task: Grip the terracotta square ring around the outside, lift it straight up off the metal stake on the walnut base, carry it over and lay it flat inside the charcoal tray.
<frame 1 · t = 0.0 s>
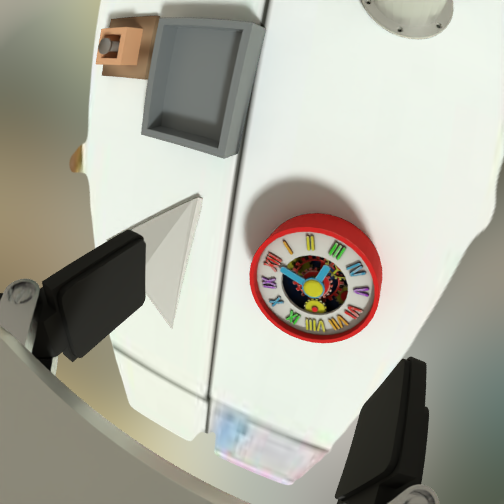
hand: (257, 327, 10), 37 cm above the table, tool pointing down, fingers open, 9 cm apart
ring: (126, 46, 45), point 1 cm above the table, touching stake base
paper plane: (147, 246, 65), on the table
stake base: (130, 46, 46), on the table
tray: (205, 81, 44), on the table
toy clock: (321, 271, 51), on the table
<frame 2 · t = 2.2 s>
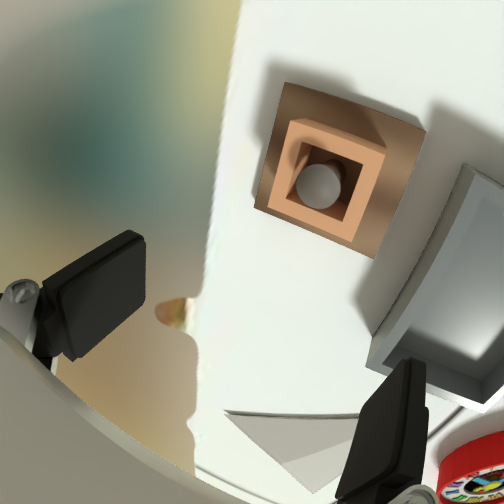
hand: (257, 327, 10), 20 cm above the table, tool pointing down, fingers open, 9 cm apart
ring: (333, 171, 25), point 1 cm above the table, touching stake base
paper plane: (297, 431, 45), on the table
stake base: (335, 168, 26), on the table
tray: (483, 296, 24), on the table
toy clock: (493, 459, 31), on the table
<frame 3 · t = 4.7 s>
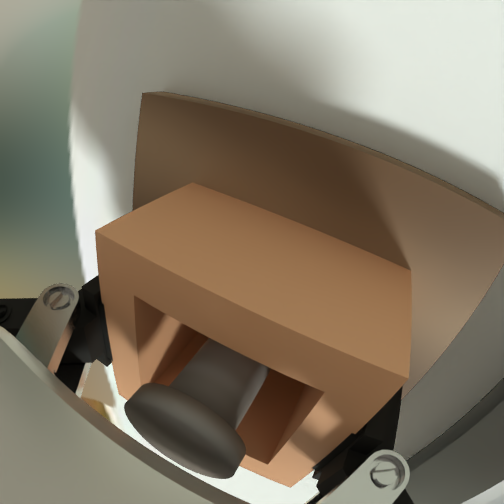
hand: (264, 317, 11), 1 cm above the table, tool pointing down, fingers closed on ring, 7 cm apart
ring: (267, 312, 11), point 1 cm above the table, touching gripper, stake base
stake base: (278, 296, 12), on the table
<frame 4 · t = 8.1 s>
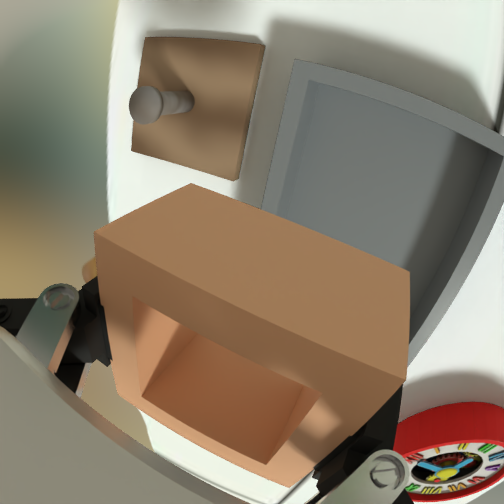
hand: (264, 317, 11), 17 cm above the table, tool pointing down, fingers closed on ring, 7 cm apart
ring: (266, 313, 11), point 17 cm above the table, touching gripper
stake base: (191, 101, 26), on the table
tray: (373, 214, 24), on the table
toy clock: (448, 441, 32), on the table
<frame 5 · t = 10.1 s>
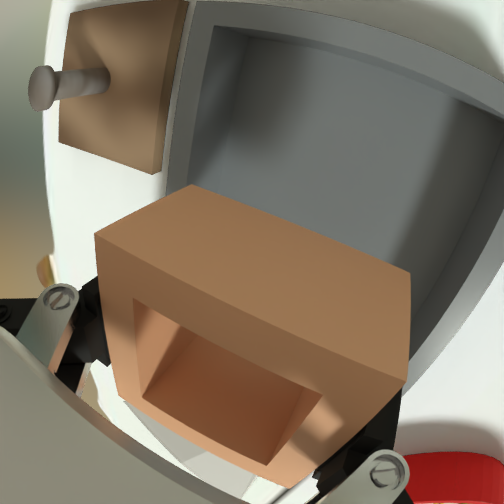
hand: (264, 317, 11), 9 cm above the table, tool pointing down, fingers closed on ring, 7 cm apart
ring: (267, 314, 11), point 9 cm above the table, touching gripper
paper plane: (191, 424, 38), on the table
stake base: (112, 79, 20), on the table
tray: (332, 220, 18), on the table
toy clock: (428, 485, 25), on the table
when the fingers open (3 cm above the table, at t = 11.8 s): ring drops 2 cm, resting on tray.
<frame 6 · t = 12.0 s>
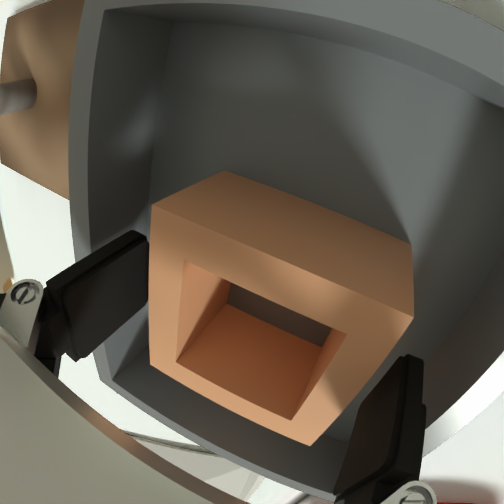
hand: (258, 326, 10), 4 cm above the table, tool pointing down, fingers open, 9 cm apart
ring: (288, 285, 12), point 1 cm above the table, touching tray
paper plane: (166, 457, 33), on the table
stake base: (42, 91, 15), on the table
tray: (294, 271, 13), on the table
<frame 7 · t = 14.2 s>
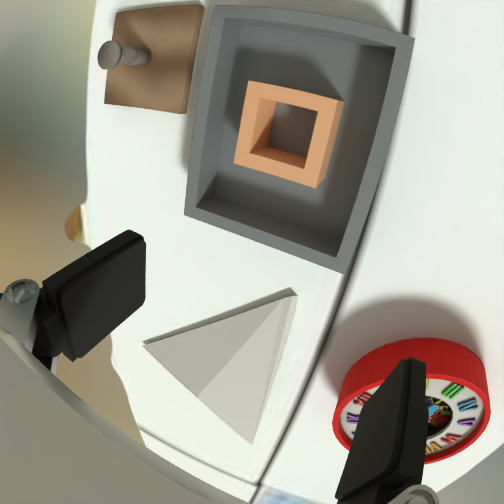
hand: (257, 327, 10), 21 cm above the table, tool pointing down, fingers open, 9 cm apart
ring: (296, 129, 26), point 1 cm above the table, touching tray
paper plane: (205, 353, 46), on the table
stake base: (150, 57, 29), on the table
tray: (298, 127, 27), on the table
toy clock: (414, 393, 34), on the table
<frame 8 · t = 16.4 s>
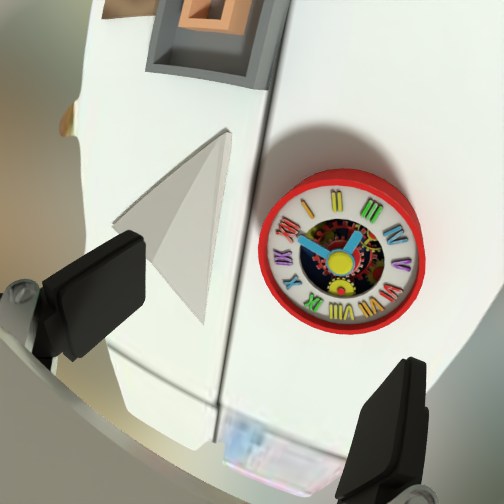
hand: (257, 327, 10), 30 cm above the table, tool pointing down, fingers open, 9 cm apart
ring: (224, 8, 31), point 1 cm above the table, touching tray
paper plane: (162, 218, 51), on the table
tray: (227, 10, 32), on the table
toy clock: (347, 244, 40), on the table
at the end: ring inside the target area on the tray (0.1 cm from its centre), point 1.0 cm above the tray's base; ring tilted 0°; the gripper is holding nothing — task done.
